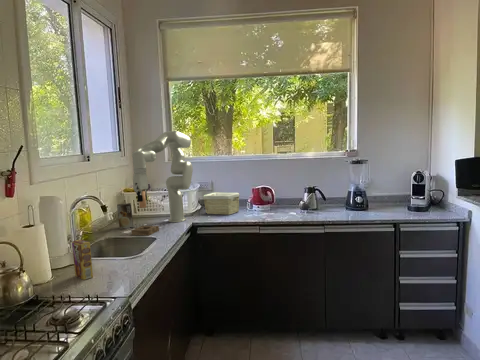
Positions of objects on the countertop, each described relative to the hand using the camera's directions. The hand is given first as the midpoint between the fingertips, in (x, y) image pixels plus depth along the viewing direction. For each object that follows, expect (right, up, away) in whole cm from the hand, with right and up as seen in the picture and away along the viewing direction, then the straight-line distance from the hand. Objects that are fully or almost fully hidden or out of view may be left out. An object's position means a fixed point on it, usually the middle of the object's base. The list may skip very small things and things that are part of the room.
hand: (142, 200), depth 229 cm
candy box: (-6, -29, -72) cm, 77 cm away
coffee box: (-16, -20, +22) cm, 34 cm away
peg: (0, -4, 0) cm, 4 cm away
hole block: (+1, -20, +2) cm, 20 cm away
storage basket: (+47, -13, +53) cm, 72 cm away
